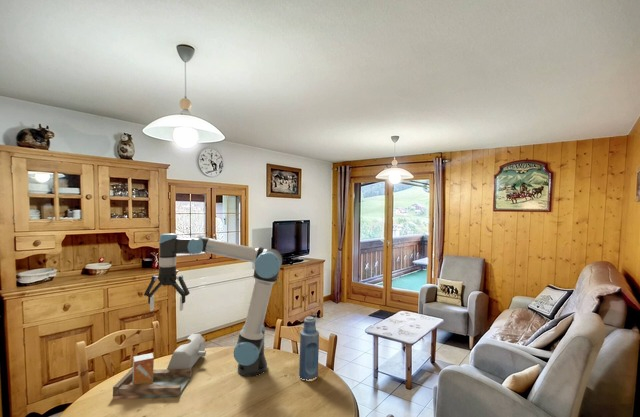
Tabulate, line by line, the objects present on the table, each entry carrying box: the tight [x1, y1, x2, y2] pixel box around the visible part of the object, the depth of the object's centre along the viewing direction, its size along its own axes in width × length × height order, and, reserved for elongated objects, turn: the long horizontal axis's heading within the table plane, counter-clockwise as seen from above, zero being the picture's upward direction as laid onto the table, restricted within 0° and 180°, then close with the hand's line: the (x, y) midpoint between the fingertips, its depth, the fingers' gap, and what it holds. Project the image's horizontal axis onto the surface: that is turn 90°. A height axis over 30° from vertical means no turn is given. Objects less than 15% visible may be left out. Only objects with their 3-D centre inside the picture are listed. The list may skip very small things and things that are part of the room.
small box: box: [132, 352, 155, 385], centre depth 149 cm, size 8×6×13 cm
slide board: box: [112, 367, 193, 400], centre depth 149 cm, size 28×17×5 cm, turn 95°
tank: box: [166, 333, 207, 369], centre depth 171 cm, size 25×16×12 cm, turn 1°
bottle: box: [298, 315, 320, 380], centre depth 162 cm, size 10×10×30 cm
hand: (166, 310), depth 154 cm, fingers open, 13 cm apart
